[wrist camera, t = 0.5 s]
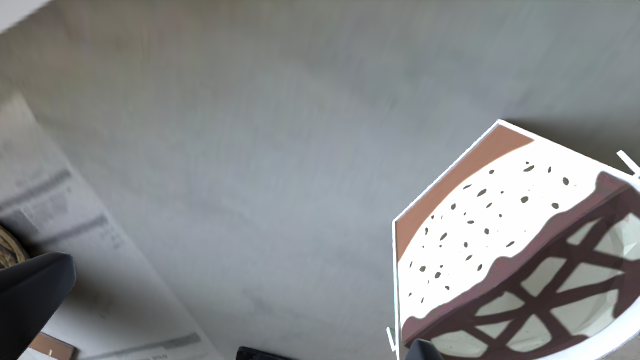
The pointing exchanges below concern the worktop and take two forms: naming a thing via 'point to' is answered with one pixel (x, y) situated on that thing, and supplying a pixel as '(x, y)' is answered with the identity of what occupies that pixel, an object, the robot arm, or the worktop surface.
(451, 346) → the food container
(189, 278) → the worktop surface
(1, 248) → the wooden mug
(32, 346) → the ruler
